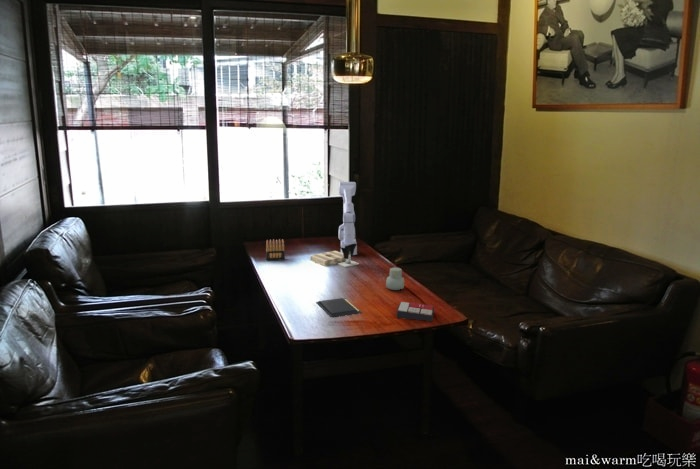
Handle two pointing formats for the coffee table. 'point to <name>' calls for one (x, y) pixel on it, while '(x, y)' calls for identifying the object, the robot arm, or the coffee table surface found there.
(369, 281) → the coffee table surface
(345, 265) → the mat
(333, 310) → the dark grey flat slab
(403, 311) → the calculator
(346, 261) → the metal cylinder
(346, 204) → the robot arm
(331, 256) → the socket block
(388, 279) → the air freshener
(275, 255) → the ammunition clip
